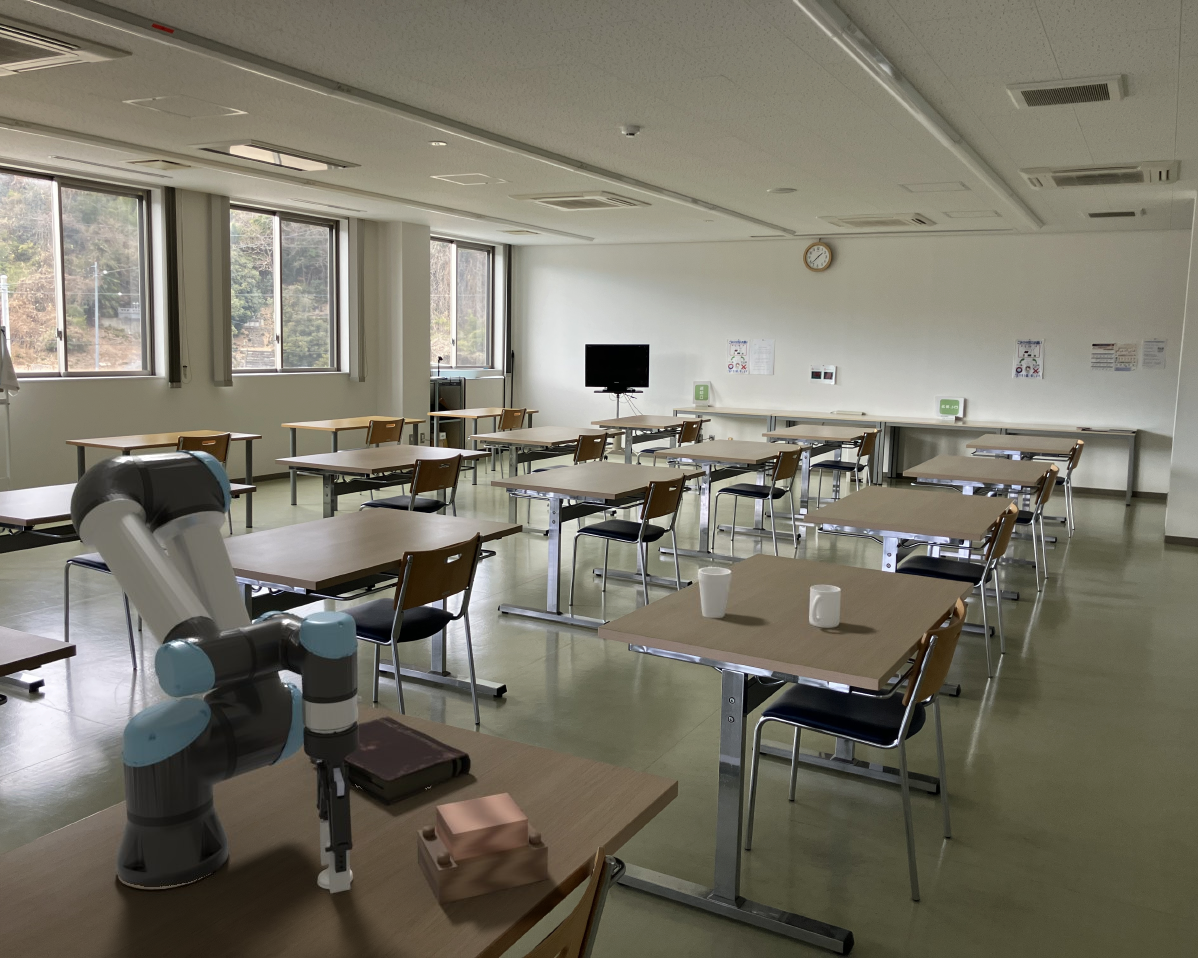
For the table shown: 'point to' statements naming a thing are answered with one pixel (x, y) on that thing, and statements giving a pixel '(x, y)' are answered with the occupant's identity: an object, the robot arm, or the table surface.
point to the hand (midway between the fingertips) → (335, 875)
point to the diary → (400, 761)
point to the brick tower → (480, 849)
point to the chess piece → (327, 873)
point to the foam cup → (714, 590)
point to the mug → (824, 606)
